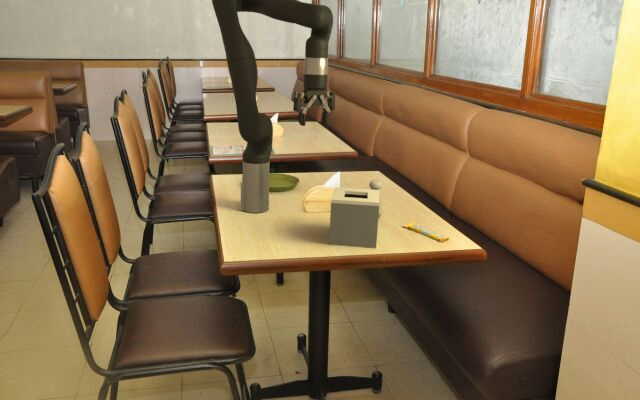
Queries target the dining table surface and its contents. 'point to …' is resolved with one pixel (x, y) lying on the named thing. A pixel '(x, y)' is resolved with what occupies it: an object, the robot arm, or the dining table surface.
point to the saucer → (282, 182)
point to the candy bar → (426, 232)
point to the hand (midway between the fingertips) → (313, 124)
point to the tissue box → (354, 217)
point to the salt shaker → (376, 186)
